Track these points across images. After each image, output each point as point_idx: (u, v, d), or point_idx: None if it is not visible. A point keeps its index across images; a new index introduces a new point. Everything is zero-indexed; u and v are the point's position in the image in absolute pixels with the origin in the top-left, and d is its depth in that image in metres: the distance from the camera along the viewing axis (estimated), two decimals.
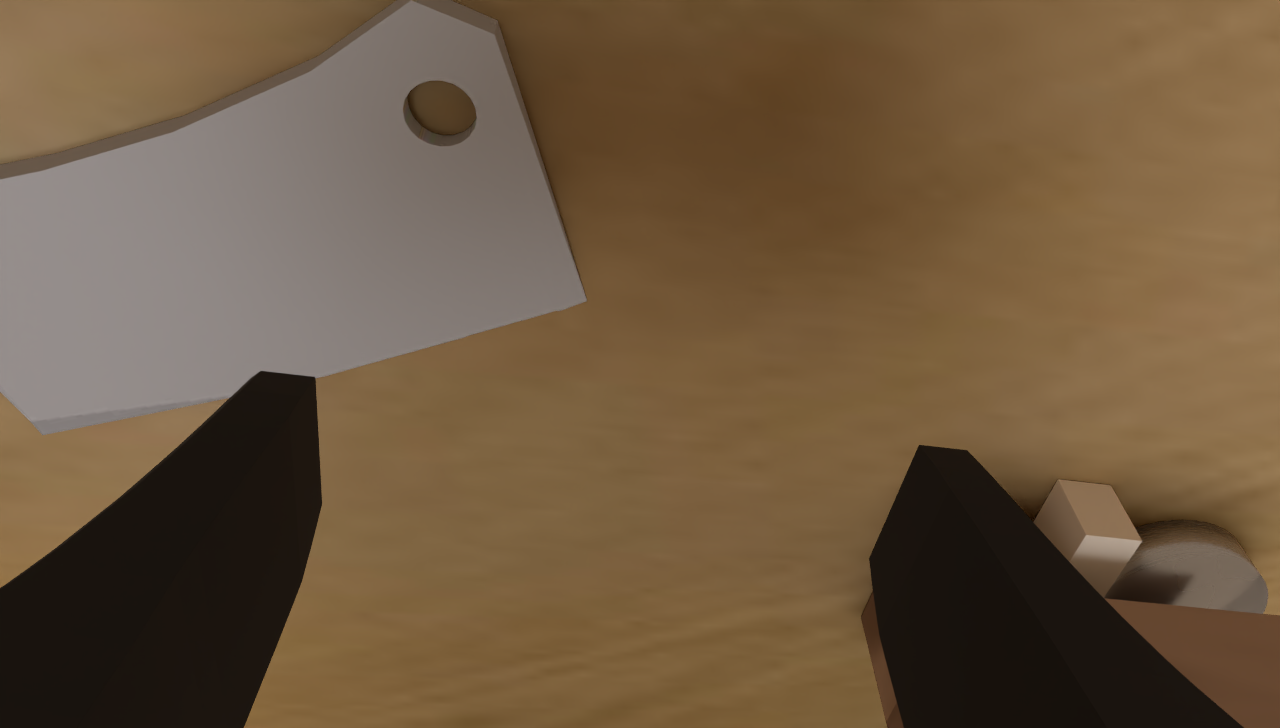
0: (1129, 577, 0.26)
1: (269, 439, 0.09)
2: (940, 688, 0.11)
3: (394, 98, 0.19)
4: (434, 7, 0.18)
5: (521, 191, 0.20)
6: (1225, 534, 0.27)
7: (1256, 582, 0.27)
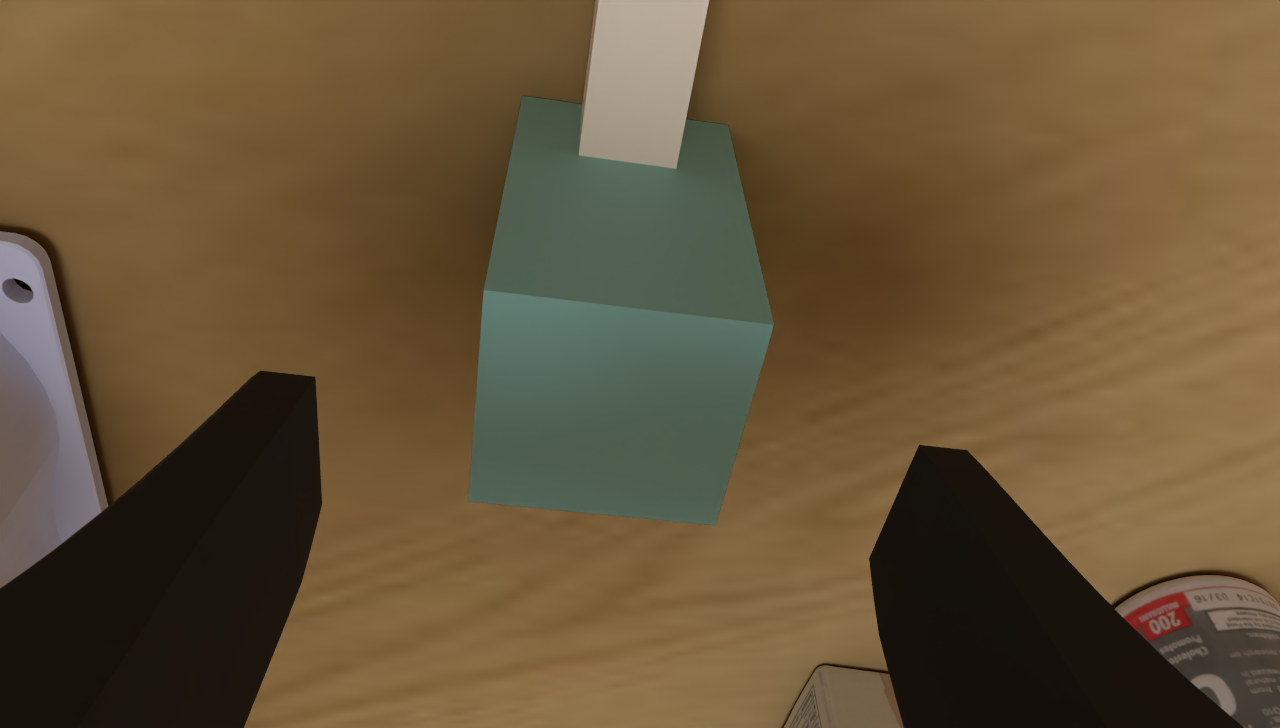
0: None
1: (269, 439, 0.09)
2: (940, 687, 0.11)
3: None
4: None
5: None
6: None
7: None
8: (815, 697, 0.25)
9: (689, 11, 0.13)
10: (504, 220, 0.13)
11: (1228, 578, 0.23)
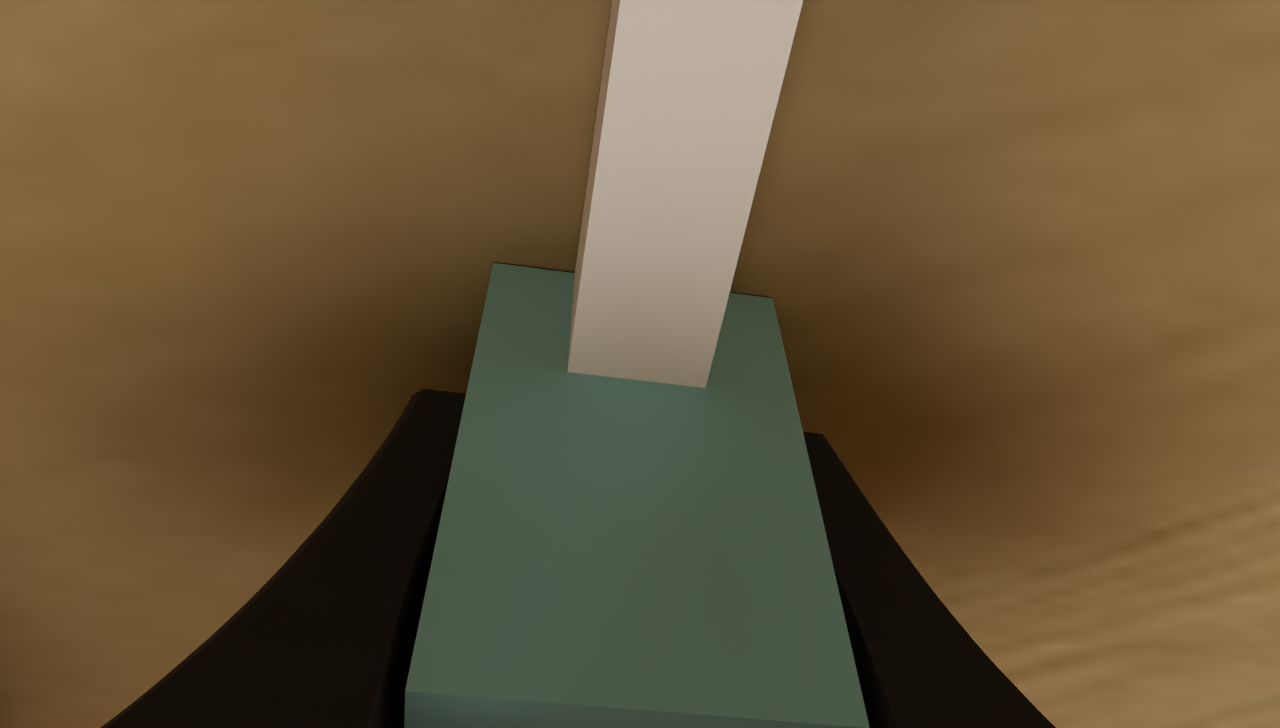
0: None
1: (452, 459, 0.10)
2: None
3: None
4: None
5: None
6: None
7: None
8: None
9: (729, 189, 0.09)
10: (450, 519, 0.08)
11: None
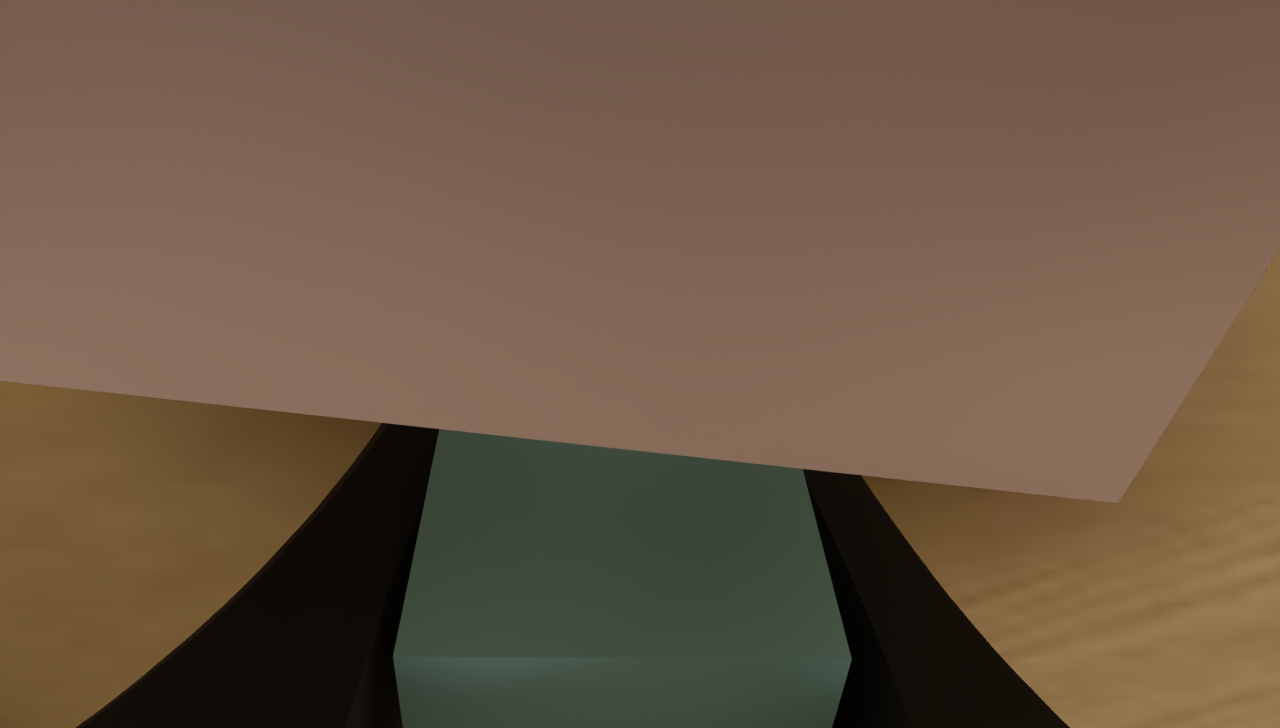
0: None
1: None
2: None
3: None
4: None
5: None
6: None
7: None
8: None
9: None
10: (435, 497, 0.09)
11: None
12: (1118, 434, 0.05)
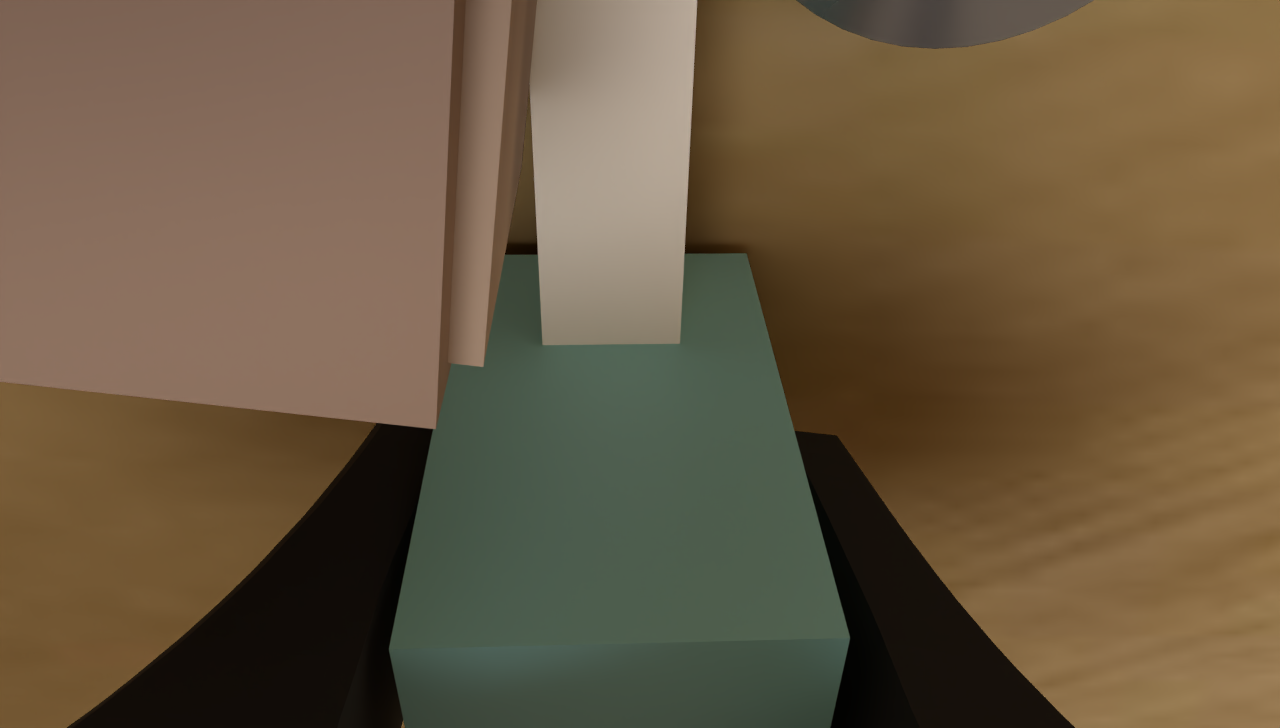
0: None
1: None
2: None
3: None
4: None
5: None
6: None
7: None
8: None
9: (665, 140, 0.09)
10: (430, 491, 0.09)
11: None
12: (391, 350, 0.05)
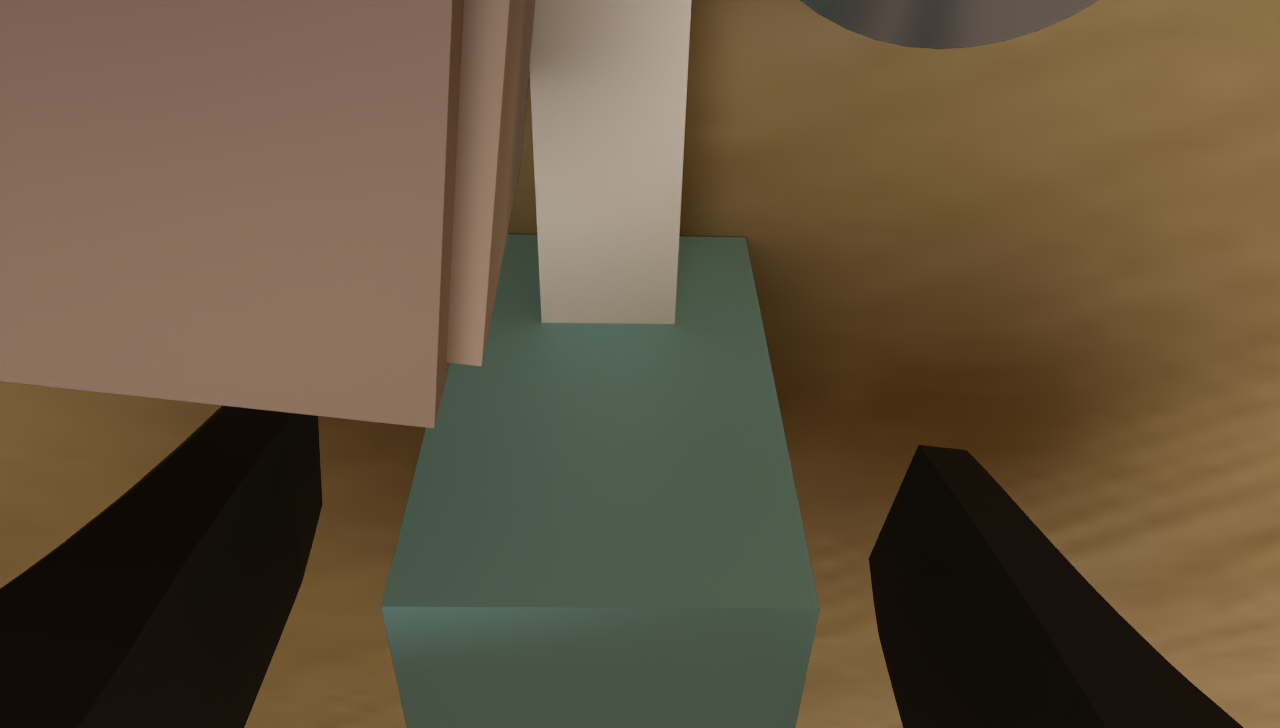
0: None
1: (269, 439, 0.09)
2: (940, 688, 0.11)
3: None
4: None
5: None
6: None
7: None
8: None
9: (660, 126, 0.10)
10: (427, 459, 0.09)
11: None
12: (390, 348, 0.05)
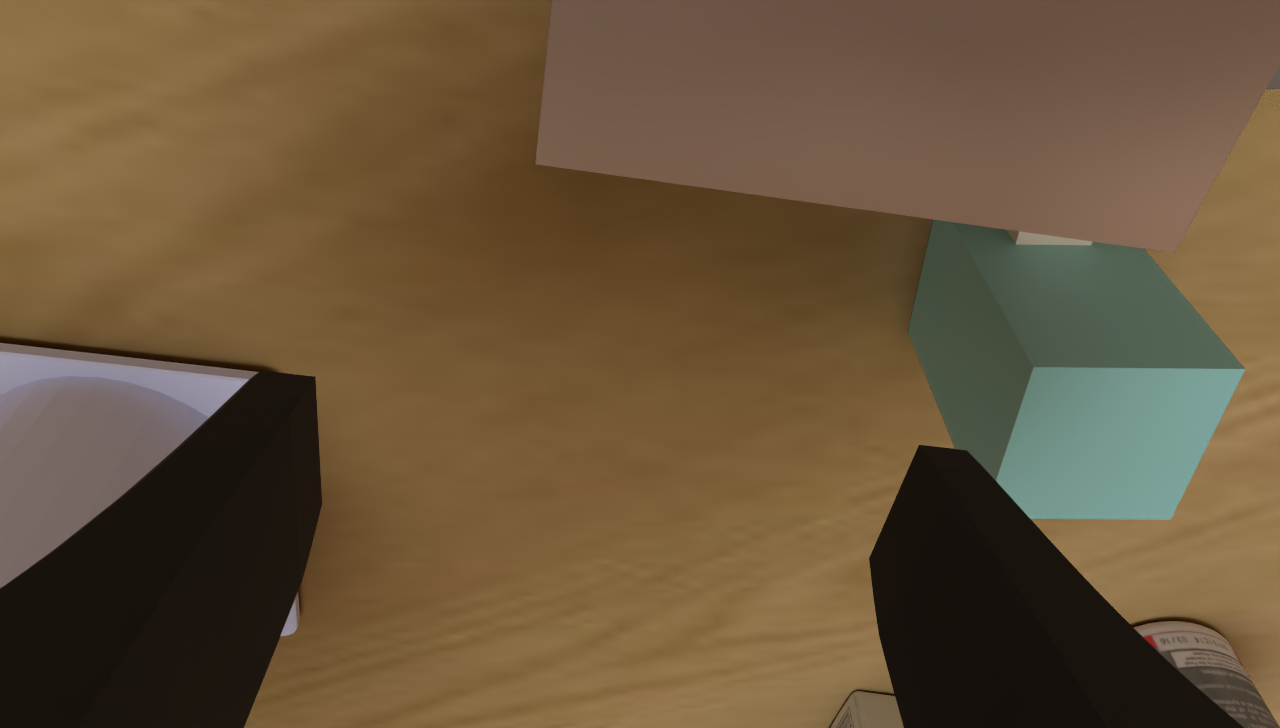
0: None
1: (269, 439, 0.09)
2: (940, 688, 0.11)
3: None
4: None
5: None
6: None
7: None
8: (851, 717, 0.31)
9: None
10: (1005, 308, 0.17)
11: (1188, 624, 0.29)
12: (1175, 218, 0.13)
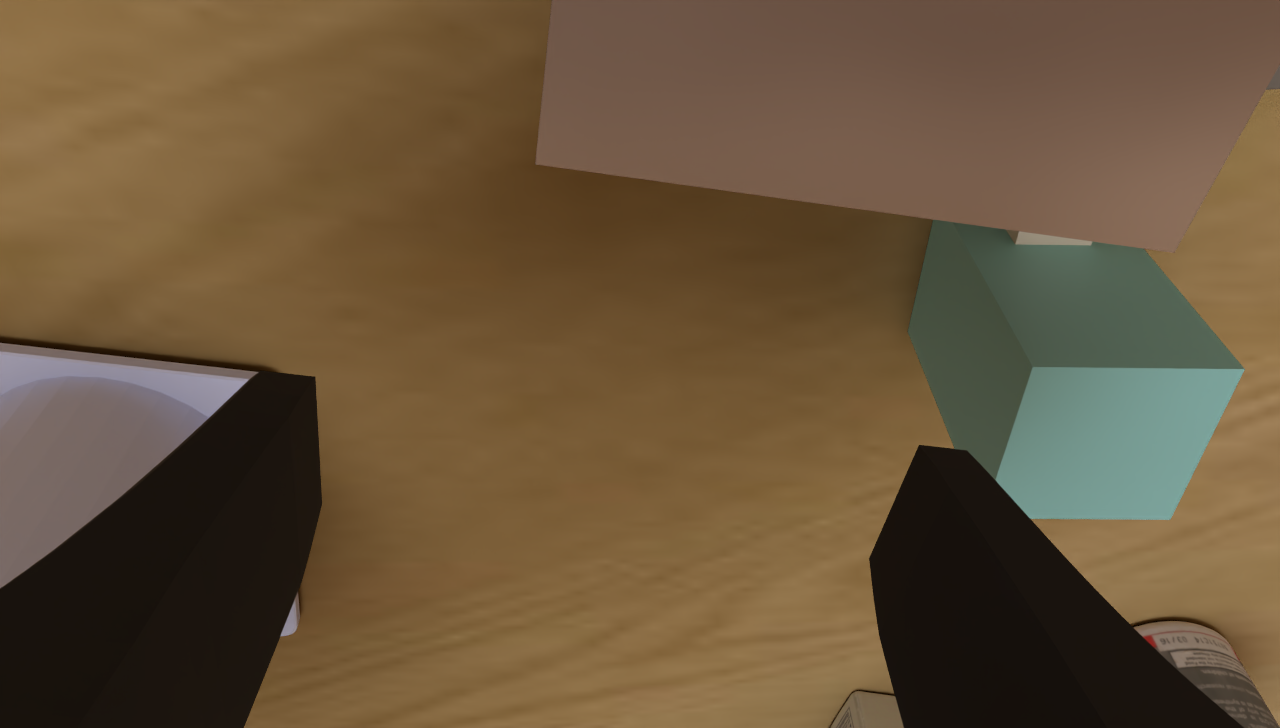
0: None
1: (269, 439, 0.09)
2: (940, 688, 0.11)
3: None
4: None
5: None
6: None
7: None
8: (851, 717, 0.31)
9: None
10: (1005, 308, 0.17)
11: (1188, 624, 0.29)
12: (1175, 218, 0.13)
